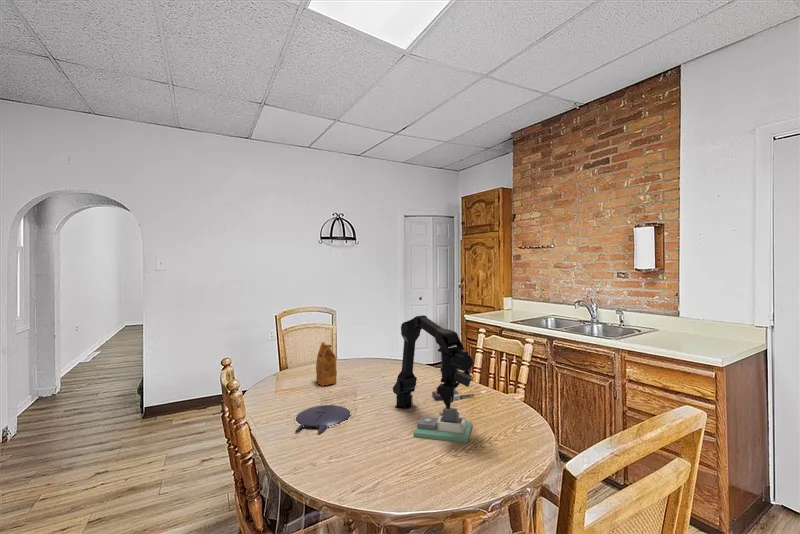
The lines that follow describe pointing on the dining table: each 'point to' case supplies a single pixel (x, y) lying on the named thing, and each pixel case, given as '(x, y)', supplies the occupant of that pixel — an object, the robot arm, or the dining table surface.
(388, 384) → the dining table surface
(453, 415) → the plug
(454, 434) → the board
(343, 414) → the toy spaceship
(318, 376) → the coffee package
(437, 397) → the walkie-talkie
